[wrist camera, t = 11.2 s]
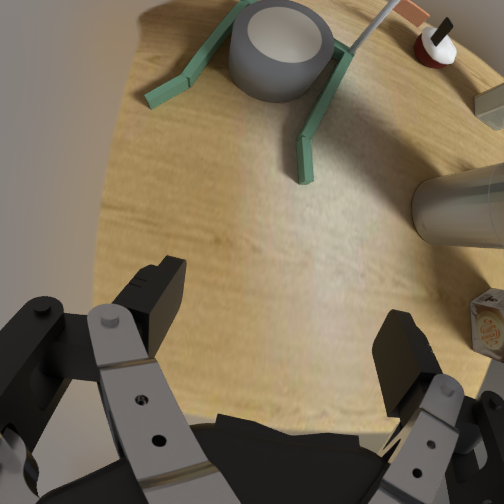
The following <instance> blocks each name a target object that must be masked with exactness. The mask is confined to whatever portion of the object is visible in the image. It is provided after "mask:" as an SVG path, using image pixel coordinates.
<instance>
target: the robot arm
mask: <svg viewBox="0 0 504 504" xmlns="http://www.w3.org/2000/svg"><path fill="white" fill-rule="evenodd" d="M412 218H413V222H414V225H415V228H416V230H417V232H418V233H419V235H420V236H421V237H422V238H423V240H425V241H426V242H427V243H430V244H432V245H441V246H458V247H477V248H495V249H504V163H500V164H495V165H491V166H486V167H482V168H477V169H473V170H468V171H464V172H459V173H455V174H450V175H446V176H441V177H437V178H433V179H429V180H426V181H424V182H423V183H421V184H420V185H419V187H418V188H417V189H416V191H415V193H414V196H413V200H412ZM186 264H187V263H186V260H184V259H180V258H176V257H172V256H168V255H167V256H166V257H165V258H164V259H163V260H162V262H161V263H160V264H159V265H158V266H155V265H151V264H150V265H148V266H146V267H144V268H142V269H140V270H139V271H138V272H137V273H136V275H135V276H134V278H132V279H131V281H130V282H129V284H127V285H126V286H125V288H124V289H123V290H122V291H121V292H120V294H119V295H118V296H117V297H116V298H115V300H114V301H113V302H112V303H111V304H102V305H99V306H96V307H94V308H93V309H92V310H91V311H90V312H89V313H88V315H79V314H70V313H64V309H63V305H62V303H61V302H60V301H59V300H57V299H56V298H53V297H48V296H42V297H36V298H33V299H31V300H30V301H28V302H27V303H26V304H25V305H24V306H23V307H22V308H21V309H20V310H19V311H18V312H17V313H16V314H15V315H14V316H13V317H12V319H11V320H10V321H9V322H8V323H7V324H6V325H5V326H4V327H3V328H2V329H1V331H0V504H431V502H432V500H433V498H434V496H435V494H436V492H437V490H438V487H439V485H440V483H441V481H442V478H443V476H444V474H445V478H446V484H447V489H448V495H449V501H450V504H504V400H503V399H502V398H501V397H500V396H499V395H498V394H496V393H494V392H492V391H484V392H483V393H482V394H481V395H480V397H479V398H478V399H477V400H476V399H473V398H471V397H468V396H465V395H464V390H463V388H462V386H461V385H460V383H459V382H458V381H457V380H456V379H454V378H453V377H451V376H449V375H446V374H443V372H442V370H441V368H440V366H439V363H438V361H437V359H436V357H435V355H434V353H433V350H432V348H431V346H429V345H430V344H429V342H428V340H427V338H426V336H425V334H424V333H423V332H422V331H421V330H420V329H419V328H418V327H416V324H415V322H414V320H413V318H412V316H411V314H410V313H408V312H403V311H399V310H394V309H392V310H391V311H390V312H389V313H388V315H387V317H386V319H385V321H384V323H383V325H382V327H381V328H380V330H379V332H378V334H377V336H376V338H375V340H374V343H373V347H372V355H373V359H374V363H375V367H376V371H377V374H378V379H379V383H380V387H381V391H382V395H383V399H384V404H385V408H386V412H387V417H397V418H400V422H399V423H398V424H397V425H396V426H395V428H394V429H393V431H392V433H391V434H390V436H389V437H388V439H387V440H386V442H385V443H384V445H383V447H382V448H381V449H380V451H379V452H378V454H376V453H374V452H372V451H370V450H368V449H366V448H363V447H361V446H360V445H359V437H358V436H356V435H344V434H334V433H319V434H309V435H298V436H297V435H296V436H292V435H287V434H285V433H282V432H279V431H277V430H274V429H272V428H269V427H267V426H264V425H262V424H259V423H257V422H254V421H250V420H245V419H240V418H236V417H231V416H227V415H222V414H217V418H216V422H215V423H202V424H195V425H188V423H187V421H186V419H185V417H184V415H183V413H182V411H181V409H180V407H179V406H178V404H177V402H176V399H175V397H174V395H173V393H172V391H171V389H170V387H169V385H168V383H167V381H166V379H165V377H164V374H163V372H162V370H161V368H160V366H159V364H158V362H157V360H156V359H155V358H154V357H155V355H156V353H157V351H158V349H159V347H160V345H161V343H162V341H163V339H164V337H165V336H166V334H167V332H168V330H169V328H170V326H171V324H172V322H173V320H174V318H175V316H176V314H177V312H178V310H179V308H180V305H181V301H182V296H183V289H184V281H185V273H186ZM72 379H77V380H85V381H94V382H97V386H98V390H99V394H100V397H101V401H102V404H103V408H104V411H105V414H106V418H107V421H108V424H109V427H110V431H111V435H112V438H113V442H114V445H115V448H116V451H117V453H118V456H119V460H117V461H116V462H113V463H111V464H109V465H107V466H105V467H103V468H101V469H99V470H97V471H95V472H92V473H90V474H88V475H86V476H84V477H81V478H79V479H77V480H75V481H72V482H70V483H68V484H65V485H63V486H61V487H58V488H56V489H53V490H51V491H49V492H48V493H46V494H45V495H43V496H42V497H41V498H40V497H39V495H38V492H37V481H38V477H39V467H38V464H37V462H36V460H35V458H34V457H33V455H32V452H33V450H34V448H35V446H36V444H37V442H38V441H39V438H40V437H41V435H42V433H43V431H44V429H45V427H46V425H47V423H48V422H49V420H50V418H51V416H52V414H53V412H54V411H55V409H56V407H57V405H58V403H59V402H60V400H61V398H62V396H63V395H64V393H65V391H66V389H67V388H68V386H69V384H70V383H71V381H72ZM482 440H483V441H484V444H485V448H486V451H487V456H488V458H487V462H486V464H485V465H484V467H483V468H482V469H480V470H479V467H478V463H477V459H476V456H475V452H474V448H475V447H476V446H477V445H478V444H479V443H480V442H481V441H482Z"/></svg>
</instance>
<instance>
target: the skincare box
mask: <svg viewBox="0 0 504 504" xmlns="http://www.w3.org/2000/svg"><path fill="white" fill-rule="evenodd" d="M474 101H475V116H476V117H477V118H479V119H480V120H481V121H483V122H484V123H486V124H487V125H488V126H490V127H491V128H493V129H494V130H496V131H498V130H501V129H504V83H502V84H500V85H498V86H495V87H493V88H491V89H489V90H487V91H485V92H482V93H480V94H478V95H476V96H474Z"/></svg>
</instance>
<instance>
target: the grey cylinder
mask: <svg viewBox="0 0 504 504" xmlns="http://www.w3.org/2000/svg"><path fill="white" fill-rule="evenodd" d="M333 52H334V38H333V35H332V32H331V30H330V28H329V27H328V25H327V24H326V22H325V21H324V20H323V19H322V18H321V17H320V16H319V15H318V14H317V13H315V12H314V11H313V10H311V9H309V8H308V7H306V6H304V5H301V4H299V3H296V2H293V1H289V0H261V1H257V2H254V3H252V4H250V5H248V6H247V7H245V8H244V9H243V10H241V11H240V13H239V14H238V15H237V17H236V19H235V21H234V25H233V31H232V37H231V43H230V50H229V56H228V70H229V73H230V76H231V78H232V80H233V81H234V83H235V84H236V85H237V86H238V87H239V88H240V89H241V90H242V91H243V92H245V93H246V94H248V95H249V96H251V97H253V98H256V99H258V100H261V101H265V102H271V103H282V102H288V101H291V100H294V99H296V98H299V97H300V96H302V95H303V94H304V93H305V92H306V91H307V90H308V89H309V88H310V86H311V85H312V83H313V82H314V81H315V79H316V78H317V77H318V75H319V74H320V73H321V71H322V70H323V69H324V67H325V66H326V65H327V63H328V62H329V61H330V59H331V57H332V55H333Z"/></svg>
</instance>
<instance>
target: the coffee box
mask: <svg viewBox="0 0 504 504" xmlns="http://www.w3.org/2000/svg"><path fill="white" fill-rule="evenodd" d="M470 311H471V324H472V342H473V351H474V352H477V353H479V354H482V355H484V356H487V357H489V358H492V359H494V360H497V361H500V362H502V363H504V290H500V289H495V288H491V289H489V290H488V291H486V292H485V293H483V294H482V295H480V296H478V297H477V298H475V299H474V300H472V301H471V302H470Z"/></svg>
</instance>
